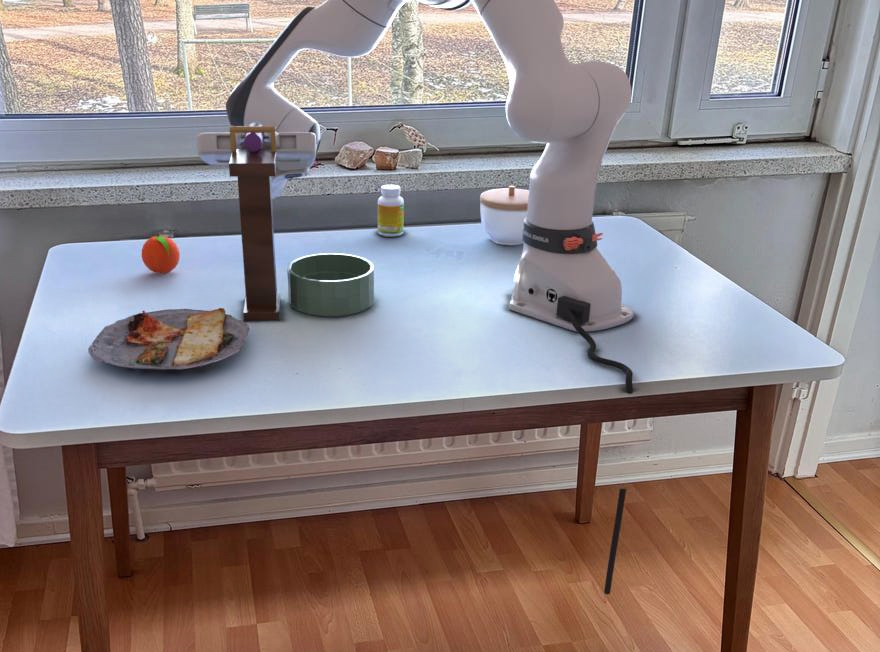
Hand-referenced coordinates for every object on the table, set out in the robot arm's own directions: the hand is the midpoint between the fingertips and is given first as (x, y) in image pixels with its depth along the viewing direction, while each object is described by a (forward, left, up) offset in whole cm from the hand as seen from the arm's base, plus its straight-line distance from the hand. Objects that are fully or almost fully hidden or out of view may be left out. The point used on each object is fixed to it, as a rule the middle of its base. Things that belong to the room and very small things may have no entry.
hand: (254, 132), depth 164 cm
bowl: (-11, -8, -28) cm, 31 cm away
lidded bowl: (0, -57, -28) cm, 64 cm away
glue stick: (-1, +1, -2) cm, 2 cm away
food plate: (-15, +24, -28) cm, 39 cm away
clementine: (+19, +11, -28) cm, 36 cm away
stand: (-8, +4, -28) cm, 29 cm away
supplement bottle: (+17, -39, -28) cm, 51 cm away
